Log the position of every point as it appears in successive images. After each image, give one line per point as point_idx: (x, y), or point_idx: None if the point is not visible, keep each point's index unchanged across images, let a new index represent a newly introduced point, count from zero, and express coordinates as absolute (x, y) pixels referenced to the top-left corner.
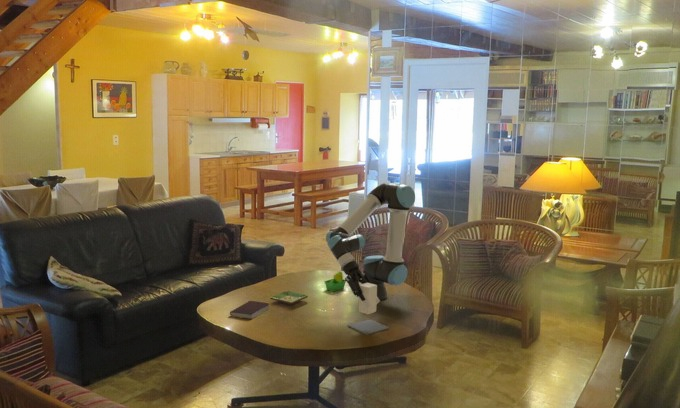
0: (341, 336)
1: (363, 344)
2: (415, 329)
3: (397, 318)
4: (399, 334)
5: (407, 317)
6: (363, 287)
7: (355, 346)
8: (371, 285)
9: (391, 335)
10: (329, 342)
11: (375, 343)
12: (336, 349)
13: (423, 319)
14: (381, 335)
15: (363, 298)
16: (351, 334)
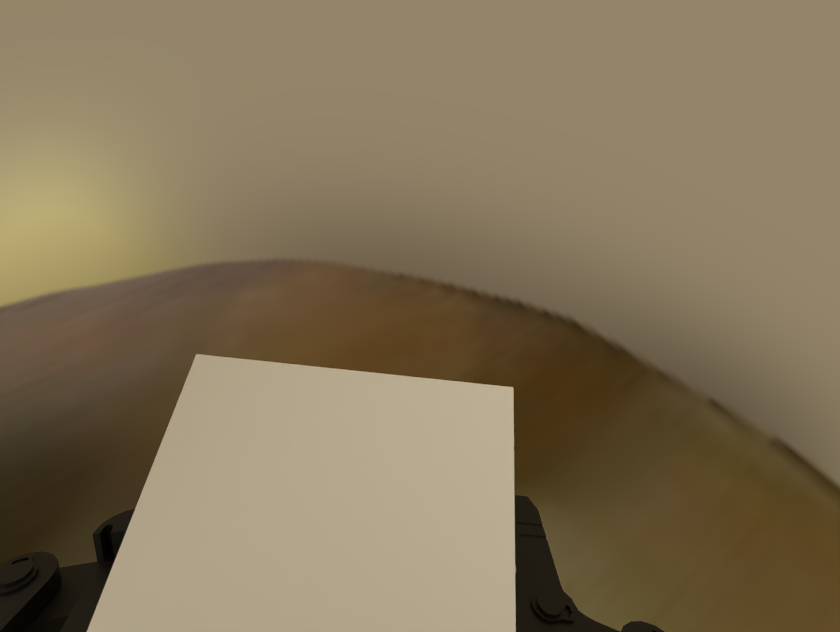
0: (658, 601)
1: (627, 384)
2: (238, 275)
3: (73, 461)
4: (360, 305)
5: (26, 411)
6: (506, 597)
7: (687, 404)
8: (296, 449)
9: (402, 331)
10: (807, 599)
11: (562, 340)
12: (820, 471)
13: (39, 312)
14: (440, 376)
15: (531, 513)
16: (570, 559)
